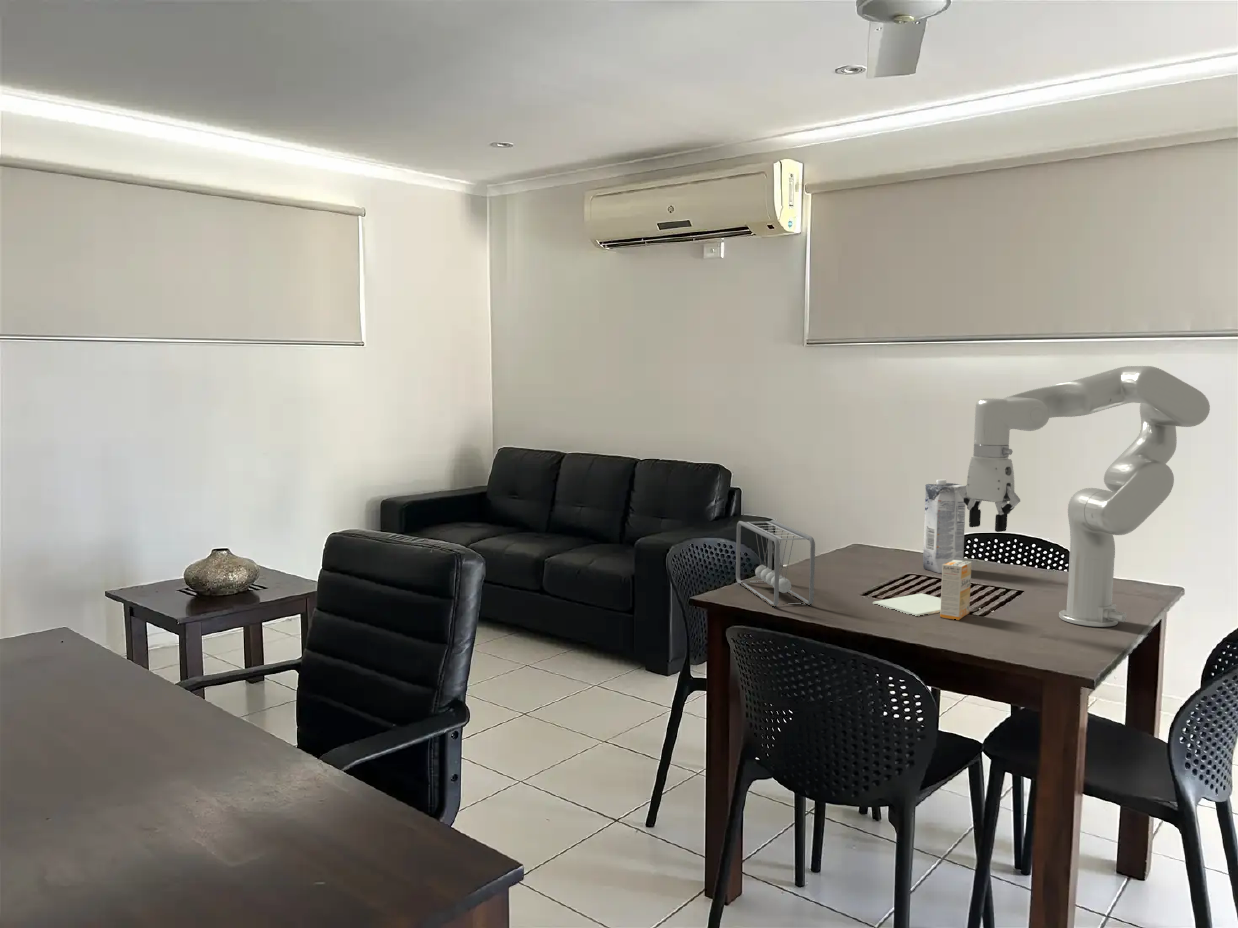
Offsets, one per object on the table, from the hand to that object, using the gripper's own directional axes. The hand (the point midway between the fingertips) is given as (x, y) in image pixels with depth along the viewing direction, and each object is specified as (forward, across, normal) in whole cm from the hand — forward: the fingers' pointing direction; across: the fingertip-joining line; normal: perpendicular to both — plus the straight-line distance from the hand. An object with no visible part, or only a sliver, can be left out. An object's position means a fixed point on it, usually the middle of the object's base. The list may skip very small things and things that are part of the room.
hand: (987, 528), depth 215 cm
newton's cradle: (+23, +47, +24) cm, 58 cm away
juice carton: (+23, +44, -39) cm, 63 cm away
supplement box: (+23, +8, 0) cm, 24 cm away
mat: (+23, +19, 0) cm, 30 cm away
